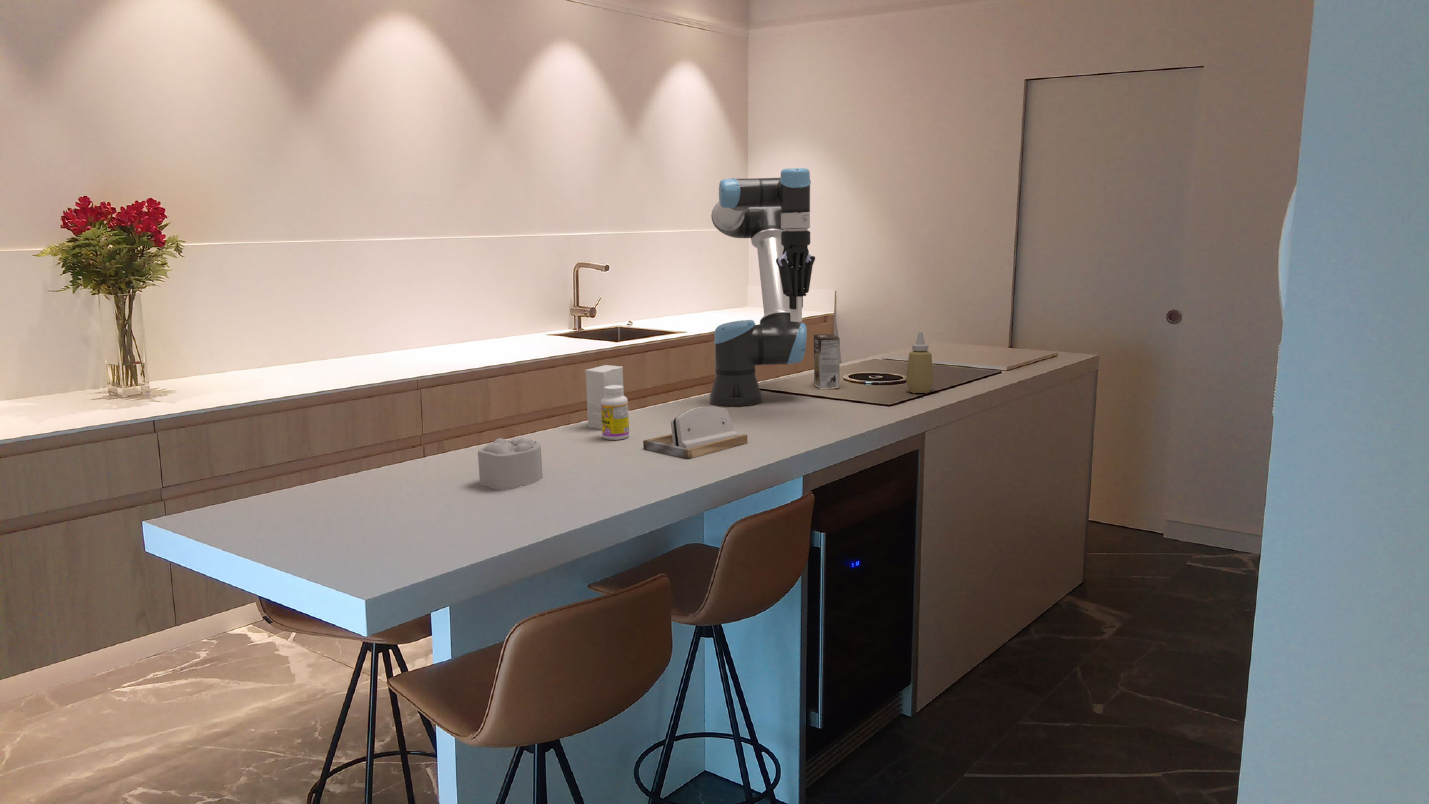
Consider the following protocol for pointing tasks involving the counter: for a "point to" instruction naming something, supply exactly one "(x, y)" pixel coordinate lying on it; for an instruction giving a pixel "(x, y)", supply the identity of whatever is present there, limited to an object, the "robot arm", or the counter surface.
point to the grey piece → (701, 427)
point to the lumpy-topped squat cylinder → (510, 463)
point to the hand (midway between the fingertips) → (796, 321)
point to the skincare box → (600, 390)
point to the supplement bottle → (614, 413)
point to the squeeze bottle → (919, 367)
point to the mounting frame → (663, 446)
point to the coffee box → (826, 360)
